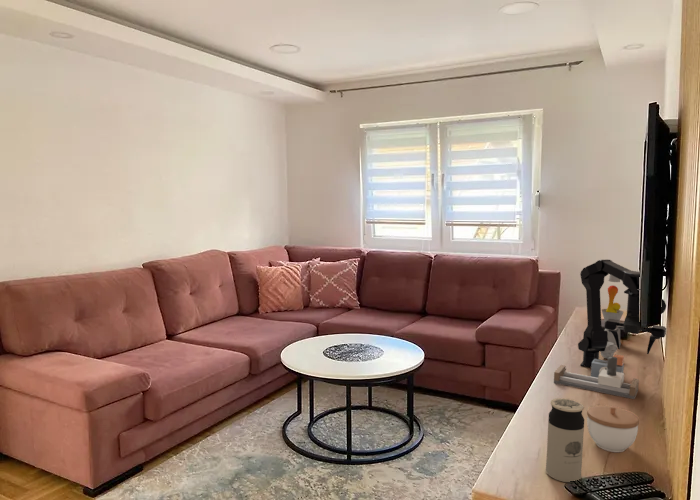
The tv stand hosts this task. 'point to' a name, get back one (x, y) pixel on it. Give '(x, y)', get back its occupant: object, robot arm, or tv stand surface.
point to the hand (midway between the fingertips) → (633, 351)
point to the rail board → (594, 383)
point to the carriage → (611, 374)
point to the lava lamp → (612, 308)
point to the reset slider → (619, 359)
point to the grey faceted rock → (609, 350)
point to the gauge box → (602, 367)
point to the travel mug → (565, 440)
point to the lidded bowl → (612, 427)
